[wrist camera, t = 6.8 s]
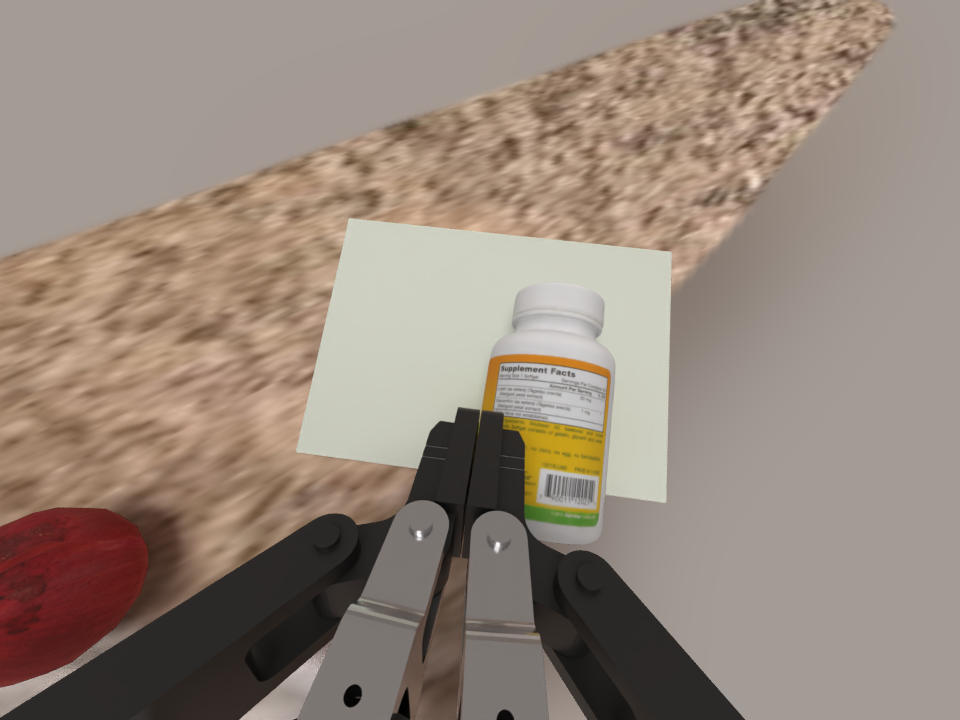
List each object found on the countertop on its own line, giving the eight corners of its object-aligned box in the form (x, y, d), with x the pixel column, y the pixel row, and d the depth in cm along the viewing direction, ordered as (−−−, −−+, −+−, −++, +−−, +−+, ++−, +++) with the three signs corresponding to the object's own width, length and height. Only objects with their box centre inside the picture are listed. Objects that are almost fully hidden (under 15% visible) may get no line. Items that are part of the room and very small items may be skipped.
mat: (301, 451, 19) (295, 452, 18) (353, 224, 22) (349, 218, 21) (660, 500, 18) (666, 503, 17) (666, 257, 21) (671, 252, 20)
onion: (124, 475, 19) (-132, 498, 11) (216, 529, 18) (12, 595, 10) (49, 588, 18) (-294, 702, 10) (144, 650, 17) (-143, 825, 9)
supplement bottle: (500, 506, 18) (527, 322, 21) (613, 536, 16) (631, 320, 18) (437, 515, 14) (479, 279, 16) (579, 559, 11) (608, 266, 13)
